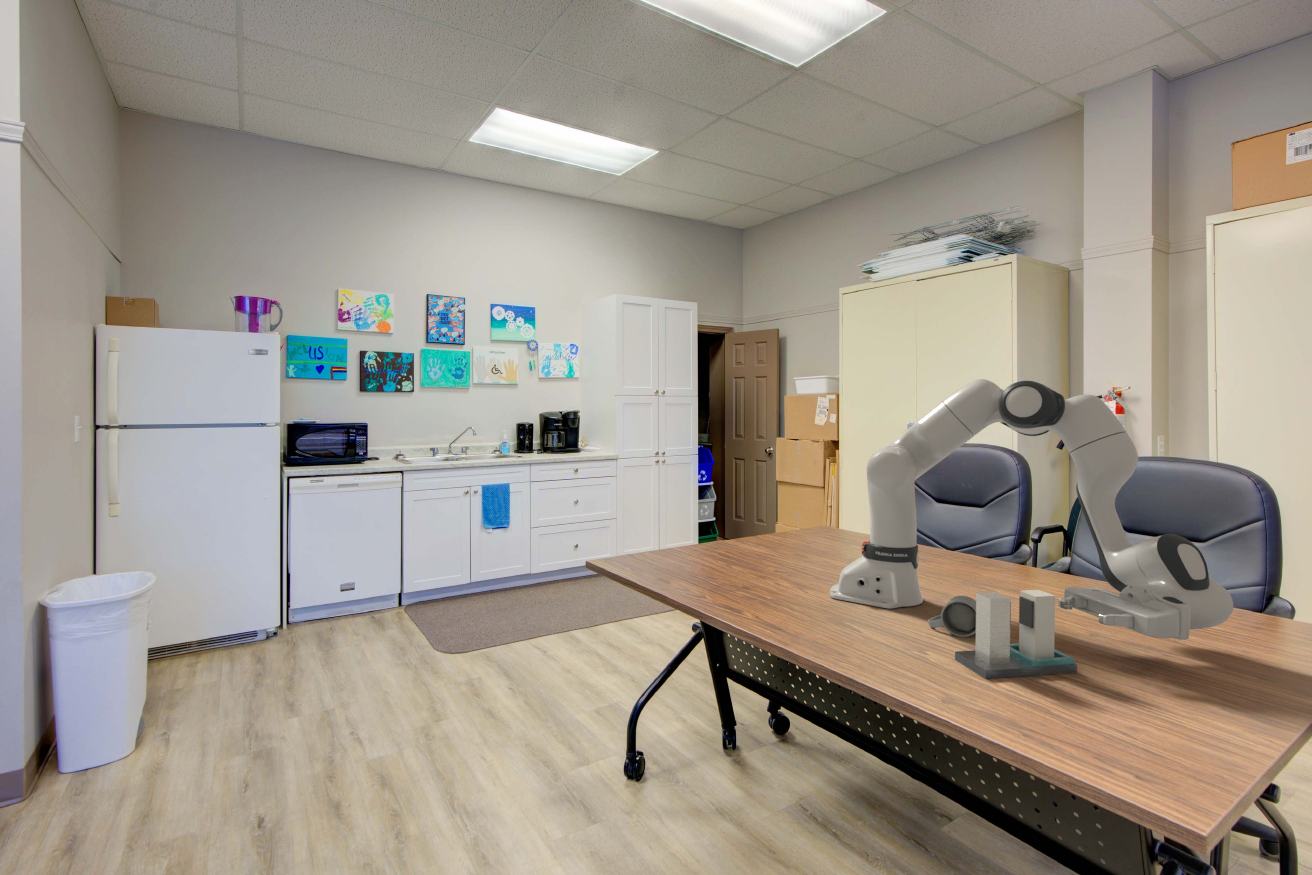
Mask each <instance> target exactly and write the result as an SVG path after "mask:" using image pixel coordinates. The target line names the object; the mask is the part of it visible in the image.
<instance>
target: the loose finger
mask: <svg viewBox="0 0 1312 875" xmlns="http://www.w3.org/2000/svg"><path fill="white" fill-rule="evenodd" d="M1018 603H1019V606H1018V610H1019V611H1018V613H1019V614H1018V625H1019V626H1018V627H1019V628H1018V629H1019V631H1018V632H1019V633H1018V643H1019V652H1021V653H1023V654H1025V655H1027V656H1029V657H1030V658H1032V659H1042V658H1054V649H1055V633H1056V632H1055V627H1056V622H1055V621H1056V595H1054V594H1051V593H1049V592H1046V591H1043V590H1041V589H1028V590H1027V589H1025V590H1020V591H1019V602H1018Z"/></svg>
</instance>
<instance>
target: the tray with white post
mask: <svg viewBox="0 0 1312 875" xmlns="http://www.w3.org/2000/svg"><path fill="white" fill-rule="evenodd" d="M975 594H976V595H975V598H976V599H975V601H976V633H975V649H974V650H959V651H954V660H956V661H957V662H958V663H960V664H962V665H964V666H965V667H966V668H968V669H969V670H971V671H972V672H975V673H976V674H978V675H979V676H981V677H982V678H984V679H986V680H987V679H988V680H990V679H991V680H992V679H1005V678H1017V677H1018V678H1019V677H1020V678H1021V677H1032V676H1033V677H1034V676H1035V677H1036V676H1050V675H1067V674H1068V675H1069V674H1077V673H1078V664H1076V659H1075V658H1074V657H1072V656H1070V655H1069V654H1066V653H1063V652H1061V651H1060V650H1058V649H1055V648H1054V658H1042V659H1032V658H1030V657H1029V656H1027V655H1025V654H1023V653H1021V652H1019V642H1017V643H1011V630H1012V629H1011V628H1012V626H1011V625H1012V623H1011V622H1012V621H1011V619H1012V601H1011V597H1009V596H1007V595H1004V594H1003V593H1000V592H998V591H989V592H988V591H987V592H986V591H985V592H983V591H982V592H976V593H975Z"/></svg>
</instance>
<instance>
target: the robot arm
mask: <svg viewBox="0 0 1312 875" xmlns="http://www.w3.org/2000/svg"><path fill="white" fill-rule="evenodd" d="M995 423H1000V424H1002V425H1004V426H1006V427H1008V428H1010V429H1011V430H1013V431H1014V432H1016V433H1018V434H1021V435H1023V436H1026V437H1027V436H1028V437H1038V436H1042V435H1045V434H1047V433H1048V432H1052V433H1054V434H1056V435H1057V436H1058V437H1059V438H1060V440H1061V441H1062V442H1063V444H1064V446H1065V448H1066V450H1067V452H1068V453H1069V455H1070V458H1071V459H1072V462H1073V464H1074V467H1075V472H1076V477H1077V483H1076V485H1075V486H1076V487H1075V489H1076V490H1075V491H1076V495H1077V499H1078V502H1079V505H1080V507H1081V510H1082V514H1083V516H1084V519H1085V521H1086V524H1087V526H1088V529H1089V532H1090V534H1091V537H1092V540H1093V541H1094V545H1095V548H1096V550H1097V554H1098V559H1099V565H1100V570H1101V573H1102V576H1103V578H1104V579H1105V581H1106V582H1107V583H1108V584H1109V585H1110V586H1111V587H1112V589H1114V590H1116V591H1118V592H1119V593H1117V592H1113V591H1110V590H1107V589H1103V588H1100V587H1092V586H1069V587H1066V588H1065V589H1064V594H1063V596H1064V597H1063V598H1059V599H1058V607H1059V608H1061V609H1063V610H1066V611H1067V610H1073V609H1075V610H1078V611H1081V612H1083V613H1085V614H1089V615H1091V616H1093V617H1096V618H1098V622H1099V624H1101V625H1104V626H1107V627H1108V626H1115V627H1122V628H1126V629H1129V630H1131V631H1133V632H1136V633H1139V634H1142V635H1145V636H1146V637H1147V636H1148V637H1151V638H1154V639H1155V638H1156V639H1176V640H1178V641H1179V640H1181V641H1182V640H1183V641H1184V640H1188V639H1190V632H1191V631H1193V630H1195V631H1196V630H1203V629H1208V628H1214V627H1217V626H1220V625H1221V624H1224V623H1225V622H1227V621H1228V620H1229V618H1230V617H1231V616H1232V614H1233V612H1234V602H1233V601H1234V600H1233V597H1232V595H1231V594H1230V592H1229V591H1228V590H1227V589H1226V588H1225V587H1223V585H1222V584H1219V583H1218V582H1216V580H1214V578H1213V577H1212V576H1211V574H1209V570H1208V565H1207V562H1206V559H1205V556H1204V555H1203V553H1202V551H1201V550H1200V549H1199V547H1197V545H1195V543H1193V542H1192V541H1190V540H1189V539H1187V538H1185V537H1183V536H1181V535H1178V534H1175V533H1165V534H1162V535H1158V536H1154V537H1151V538H1148V539H1144V540H1141V541H1139V542H1135V543H1131V542H1129V540H1128V538H1127V535H1126V532H1125V530H1124V527H1123V525H1122V523H1121V519H1120V518H1119V514H1118V512H1117V510H1116V498H1117V496H1118V494H1119V492H1120V490H1121V489H1122V487H1123V486H1124V485H1125V484H1126V483H1127V482H1128V481H1129V479H1130V478H1131V477H1132V476H1133V474H1134V473H1135V470H1136V468H1137V466H1138V464H1139V463H1138V462H1139V456H1138V451H1137V448H1136V446H1135V444H1134V442H1133V440H1132V438H1131V437H1130V436H1129V434H1128V432H1127V431H1126V429H1125V427H1124V426H1123V424H1122V422H1120V420H1119V418H1118V417H1117V416H1116V414H1115V413H1114V412H1113V411H1112V410H1111V408H1110V407H1109V406H1108V404H1106V403H1105V402H1104V401H1103V400H1102V399H1101V398H1100V397H1099V396H1097V395H1093V394H1078V395H1075V396H1072V397H1070V398H1066V399H1065V398H1064V395H1062V394H1061V393H1059V392H1057V391H1055V390H1053V389H1052V388H1050V387H1048V386H1047V385H1044V384H1042V383H1041V382H1037V381H1035V380H1021V381H1016V382H1013V383H1012V384H1010V385H1009V386H1008V387H1006V388H1005V389H1002V388H1001V387H1000V386H999V385H998V384H996V383H994V382H993V381H991V380H988V379H986V378H978V379H975V380H973V381H970V382H969V383H967V384H966V385H964V386H962V387H960V388H958V389H957V390H955V391H954V392H952V393H951V394H950V395H948V396H947V397H945V399H943V400H942V401H941V402H939V403H938V404H936V405H935V406H934V407H933V408H932V409H930V410H929V411H928V412H927V413H925V414H924V415H923V416H921V418H919V419H917V420H916V421H915V422H914V423H913V424H912V425H911V426H910V427H909V428H907V429H906V430H905V431H904V432H902V433H901V435H899V436H898V437H897V438H896V439H894V440H893V441H892V442H890V443H889V445H887V446H885V447H884V448H881V449H878V450H876V451H875V452H874V453H872V454H871V455H870V456H869V459H868V461H867V465H866V481H867V494H868V496H867V497H868V503H869V512H870V513H869V515H870V516H869V518H870V519H869V524H870V526H869V527H870V528H869V533H870V534H869V539H870V540H868V539H867V540H866V539H865V540H864V541H863V542H862V544H861V556H860V557H858V558H856V559H855V560H853V561H852V562H851V563H849V564H848V565H846V566H845V567H844V568H842V570H841V572H840V575H839V580H838V582H837V583H836V584H834V585H832V586H831V588H830V589H829V595H830V597H831V598H833V599H835V600H841V601H846V602H852V603H857V604H862V605H867V606H873V607H877V608H882V609H883V608H884V609H896V608H902V607H913V606H919V605H920V604H922V603H923V602H924V599H923V597H922V594H921V589H920V583H919V582H920V581H919V576H918V567H919V562H920V561H919V558H920V556H919V555H920V554H919V553H920V552H919V546H918V544H917V533H918V532H917V528H918V527H917V526H918V524H917V523H918V522H917V518H918V517H917V515H918V514H917V507H916V506H917V505H916V491H915V490H916V489H915V488H916V487H915V485H916V484H915V481H916V480H917V479H919V478H920V477H921V476H922V475H924V474H925V473H927V472H928V471H929V470H931V469H932V468H933V467H935V466H937V464H939V463H940V462H942V461H943V460H944V459H945V458H947V457H948V456H950V455H951V454H952V453H954V452H956V450H958V449H959V448H961V447H962V446H963V445H964V444H966V443H967V442H968V441H970V440H971V439H972V438H973V437H975V436H977V435H978V434H979V433H980V432H981V431H983V430H984V429H986V428H987V427H989V426H990V425H993V424H995Z"/></svg>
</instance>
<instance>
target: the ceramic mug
mask: <svg viewBox="0 0 1312 875" xmlns="http://www.w3.org/2000/svg"><path fill="white" fill-rule="evenodd" d="M927 623H928V625H929V627H930V628H931V629H932V628H933V629H934V628H941V627H944V629H945V630H946V631H947V632H949V634H952V635H953V636H955V637H959V638H960V637H961V638H968V637H971V636H973V635H976V599H974V598H972V597H970V596H968V595H967V596H966V595H956V596H954V597H952V598H951V599H950V600H948V602H946V604H945V605H944V606H943V607H942V610H941V612H940V614H938V615H935V616H932V617H930V618H928V620H927Z"/></svg>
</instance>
